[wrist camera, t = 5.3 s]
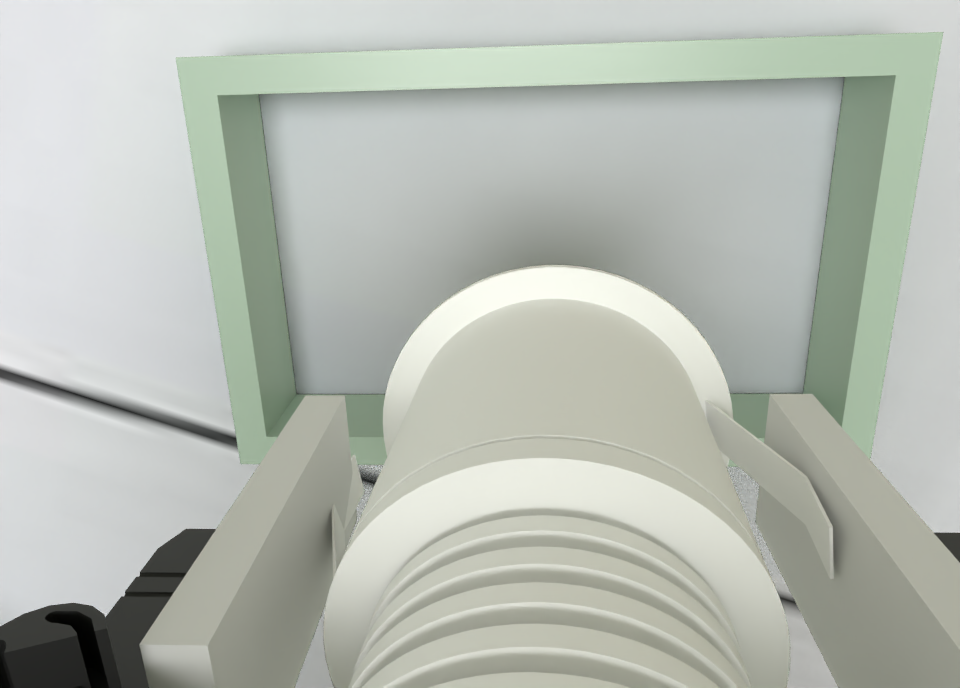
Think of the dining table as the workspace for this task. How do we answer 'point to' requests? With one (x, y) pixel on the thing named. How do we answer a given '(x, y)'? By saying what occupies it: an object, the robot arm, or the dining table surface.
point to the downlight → (561, 504)
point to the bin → (859, 58)
